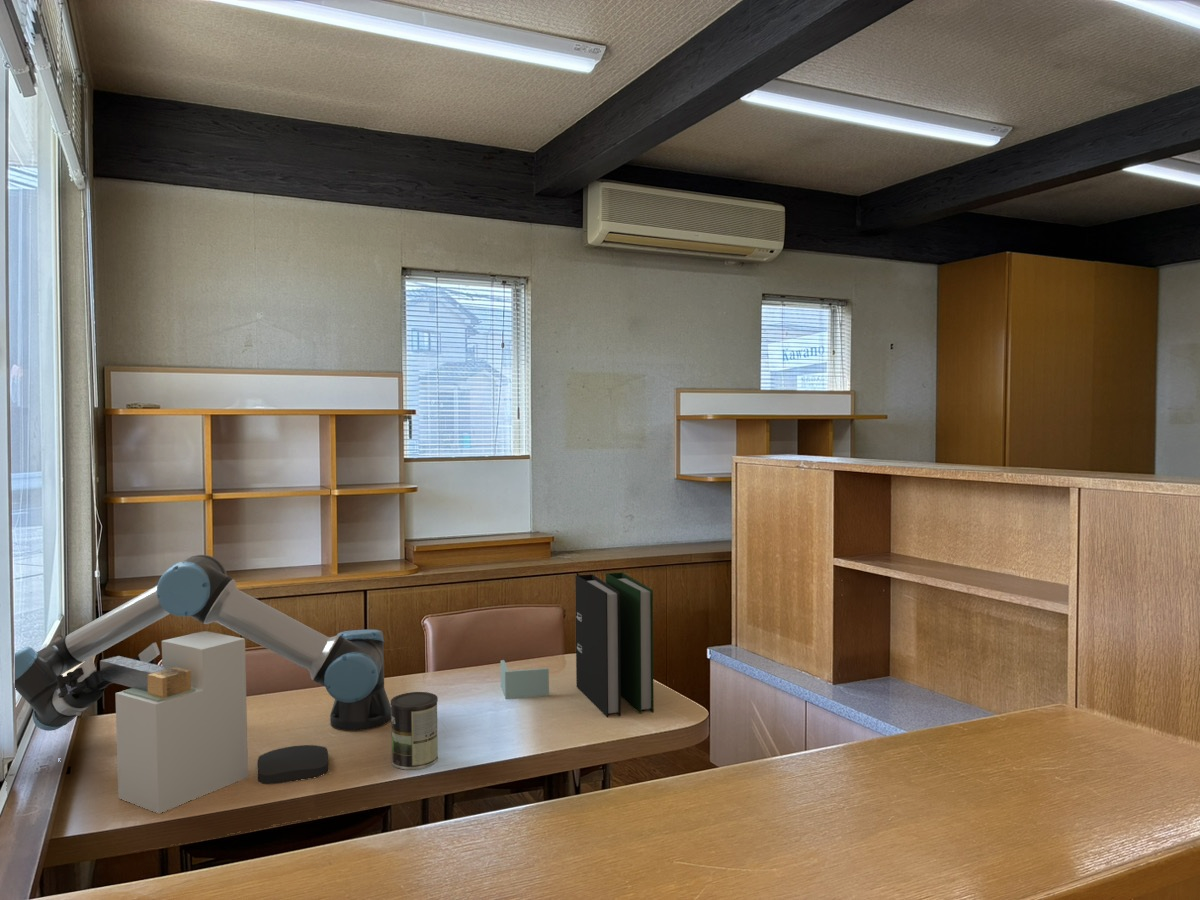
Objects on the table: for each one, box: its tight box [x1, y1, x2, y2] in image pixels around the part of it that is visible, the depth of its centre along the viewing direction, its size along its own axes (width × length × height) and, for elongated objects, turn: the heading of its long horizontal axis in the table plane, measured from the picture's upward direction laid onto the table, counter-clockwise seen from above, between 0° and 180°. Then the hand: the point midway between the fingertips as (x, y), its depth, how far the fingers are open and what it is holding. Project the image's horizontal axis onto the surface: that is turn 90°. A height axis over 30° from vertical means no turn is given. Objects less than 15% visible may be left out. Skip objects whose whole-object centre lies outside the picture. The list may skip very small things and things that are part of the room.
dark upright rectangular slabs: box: [574, 572, 655, 718], centre depth 233 cm, size 27×15×32 cm, turn 17°
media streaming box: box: [256, 744, 329, 785], centre depth 189 cm, size 15×15×3 cm
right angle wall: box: [500, 659, 550, 700], centre depth 242 cm, size 12×12×8 cm
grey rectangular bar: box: [99, 655, 191, 698], centre depth 177 cm, size 24×6×4 cm, turn 59°
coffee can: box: [390, 691, 439, 771], centre depth 192 cm, size 10×10×14 cm
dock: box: [114, 630, 249, 815], centre depth 179 cm, size 14×20×30 cm
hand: (125, 655), depth 180 cm, fingers open, 13 cm apart
